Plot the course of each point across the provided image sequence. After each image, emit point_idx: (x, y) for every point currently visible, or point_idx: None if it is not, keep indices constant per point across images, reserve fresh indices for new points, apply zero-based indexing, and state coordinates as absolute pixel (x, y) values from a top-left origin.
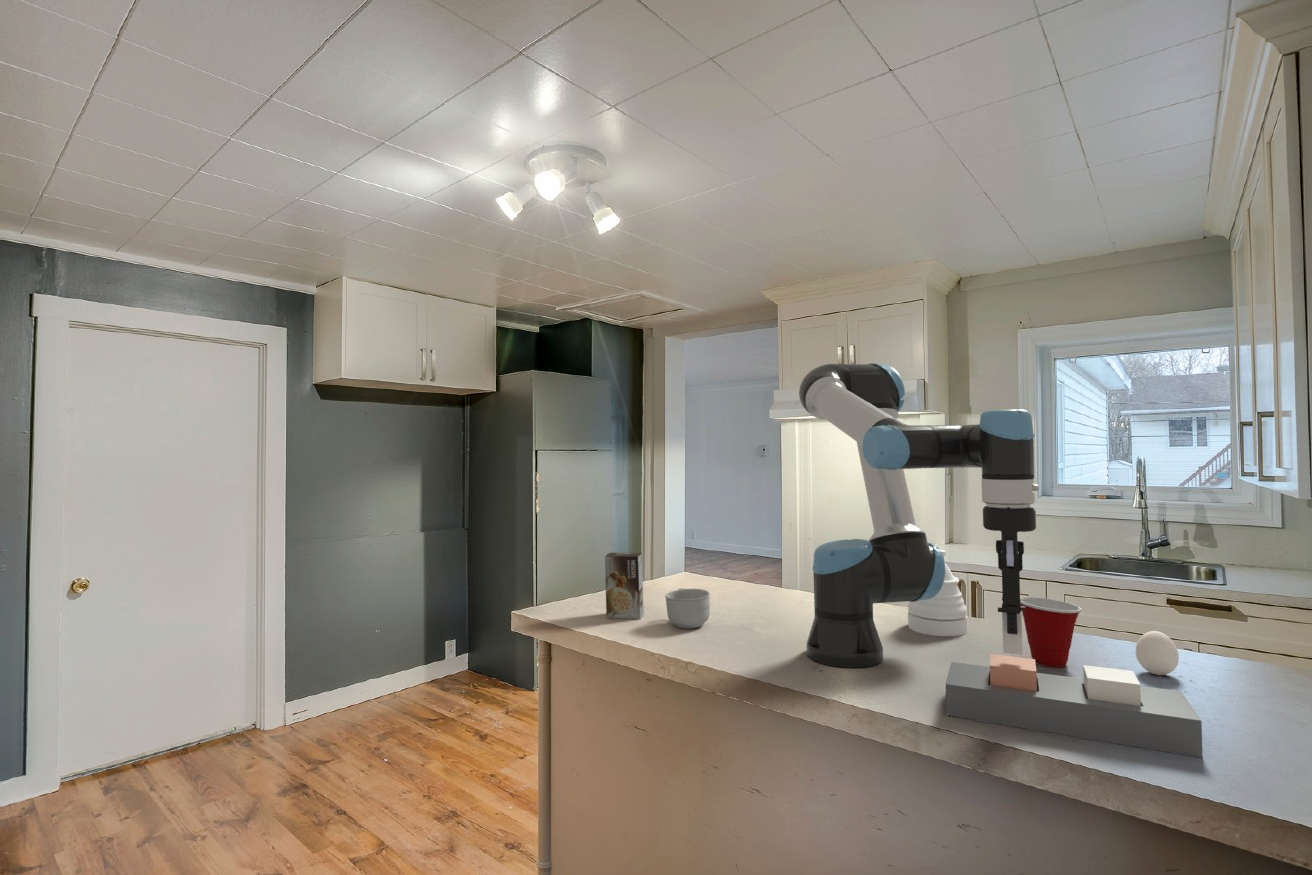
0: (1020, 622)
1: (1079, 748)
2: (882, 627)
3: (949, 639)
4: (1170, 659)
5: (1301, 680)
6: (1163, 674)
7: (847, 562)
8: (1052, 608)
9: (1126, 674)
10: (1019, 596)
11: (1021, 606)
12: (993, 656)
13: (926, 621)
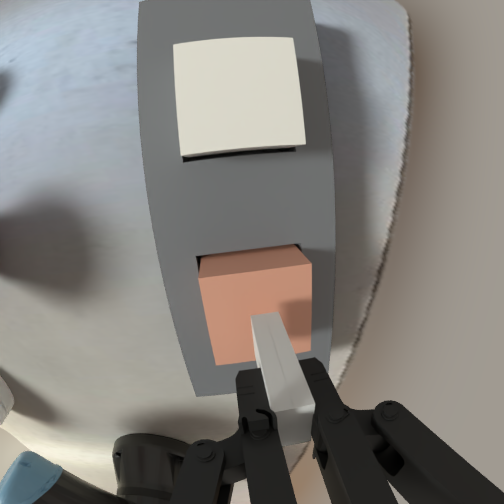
0: (305, 379)
1: (351, 168)
2: (34, 428)
3: (3, 370)
4: None
5: None
6: None
7: None
8: None
9: (216, 55)
10: (441, 441)
11: (253, 429)
12: (234, 358)
13: (4, 403)
